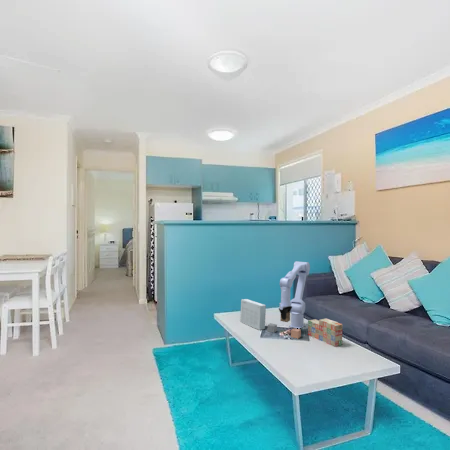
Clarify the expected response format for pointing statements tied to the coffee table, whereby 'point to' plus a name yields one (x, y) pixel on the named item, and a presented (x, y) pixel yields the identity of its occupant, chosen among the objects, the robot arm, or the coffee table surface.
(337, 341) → the stack of blocks
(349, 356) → the coffee table surface
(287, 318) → the walnut block
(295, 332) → the terracotta cube
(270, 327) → the grey cube
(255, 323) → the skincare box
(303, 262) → the robot arm
